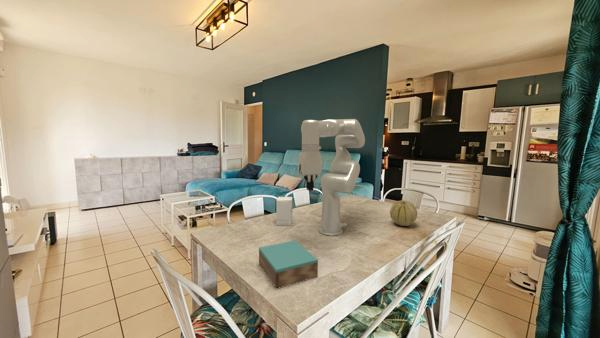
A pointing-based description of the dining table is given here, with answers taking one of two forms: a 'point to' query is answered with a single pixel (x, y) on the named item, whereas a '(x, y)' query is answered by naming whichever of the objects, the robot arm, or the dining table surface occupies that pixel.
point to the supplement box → (284, 211)
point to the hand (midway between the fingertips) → (310, 189)
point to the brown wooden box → (288, 273)
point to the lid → (287, 256)
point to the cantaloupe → (403, 213)
